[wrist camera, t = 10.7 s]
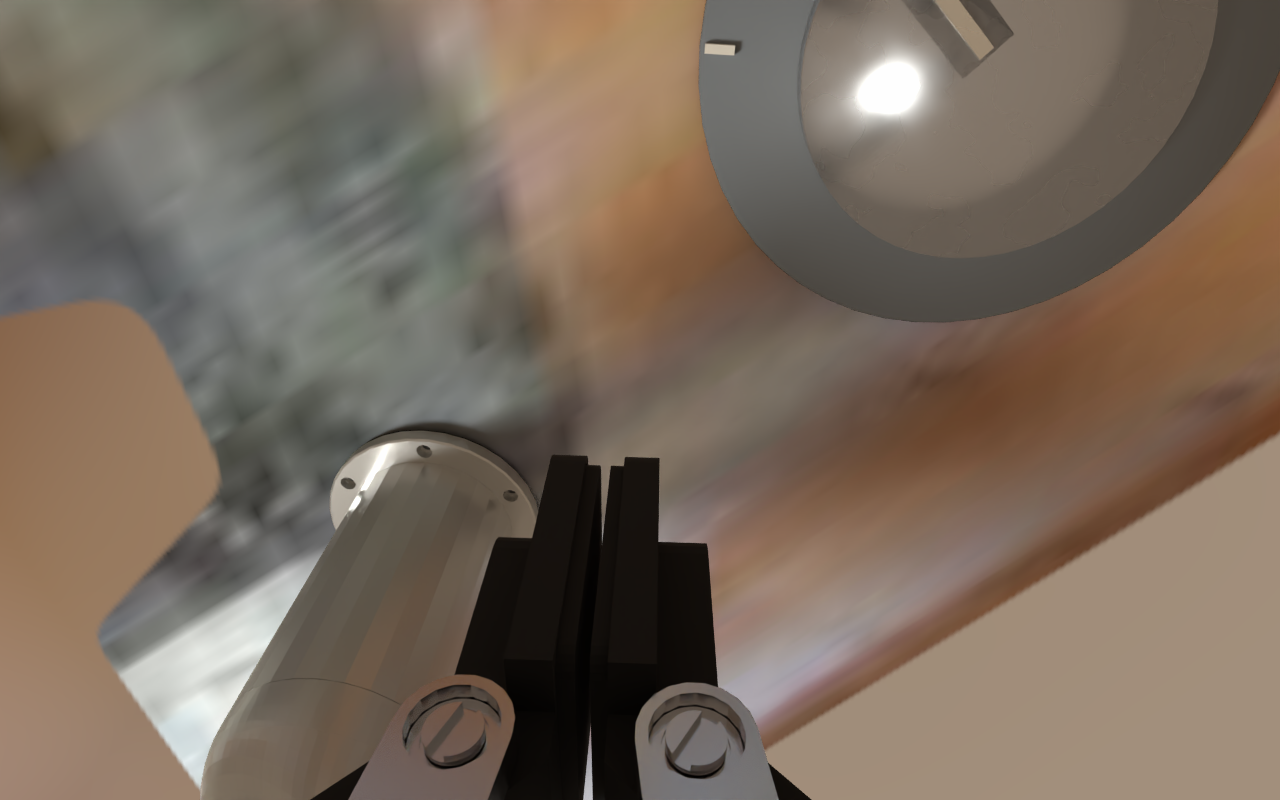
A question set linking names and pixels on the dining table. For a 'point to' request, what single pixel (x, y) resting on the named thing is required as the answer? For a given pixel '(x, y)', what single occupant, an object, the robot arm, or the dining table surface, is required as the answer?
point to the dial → (992, 111)
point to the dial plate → (922, 284)
